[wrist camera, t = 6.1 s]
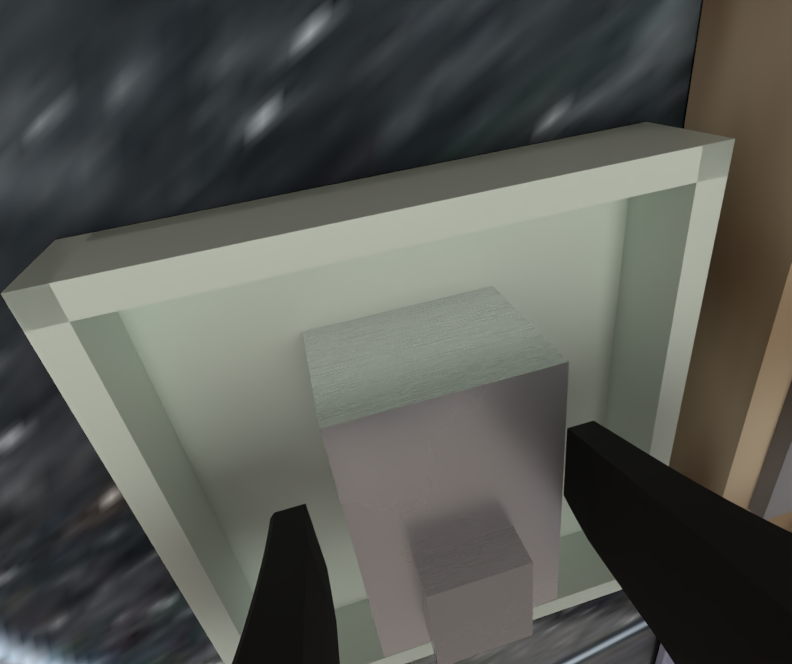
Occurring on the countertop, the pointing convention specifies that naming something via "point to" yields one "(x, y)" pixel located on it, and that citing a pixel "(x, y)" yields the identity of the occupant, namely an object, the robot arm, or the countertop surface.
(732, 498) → the hand plane
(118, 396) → the parts tray
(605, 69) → the countertop surface
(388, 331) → the lever cap
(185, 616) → the countertop surface
